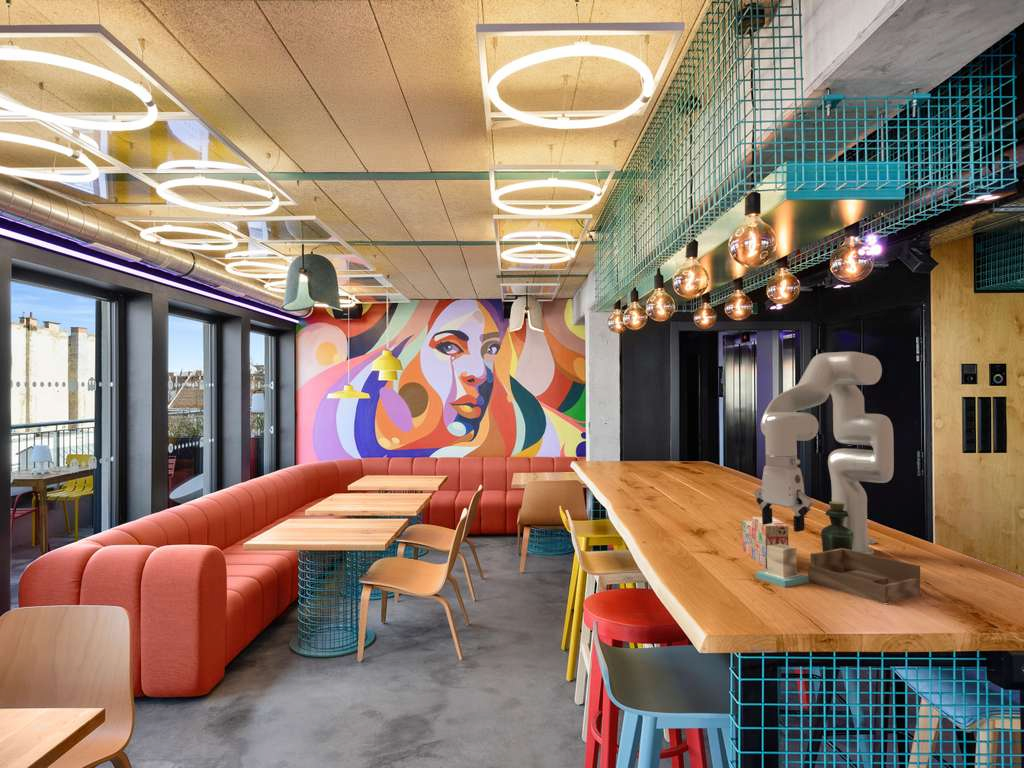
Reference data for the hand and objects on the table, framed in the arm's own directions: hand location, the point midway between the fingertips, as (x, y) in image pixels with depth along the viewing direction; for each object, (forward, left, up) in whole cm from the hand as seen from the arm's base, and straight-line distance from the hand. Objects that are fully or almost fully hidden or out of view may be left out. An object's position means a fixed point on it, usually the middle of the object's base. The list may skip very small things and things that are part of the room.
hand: (782, 527), depth 164 cm
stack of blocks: (-13, -16, -14) cm, 25 cm away
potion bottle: (-23, -1, -14) cm, 27 cm away
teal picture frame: (+1, 0, -14) cm, 14 cm away
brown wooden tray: (-11, +14, -14) cm, 23 cm away
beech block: (+1, 0, -12) cm, 12 cm away
